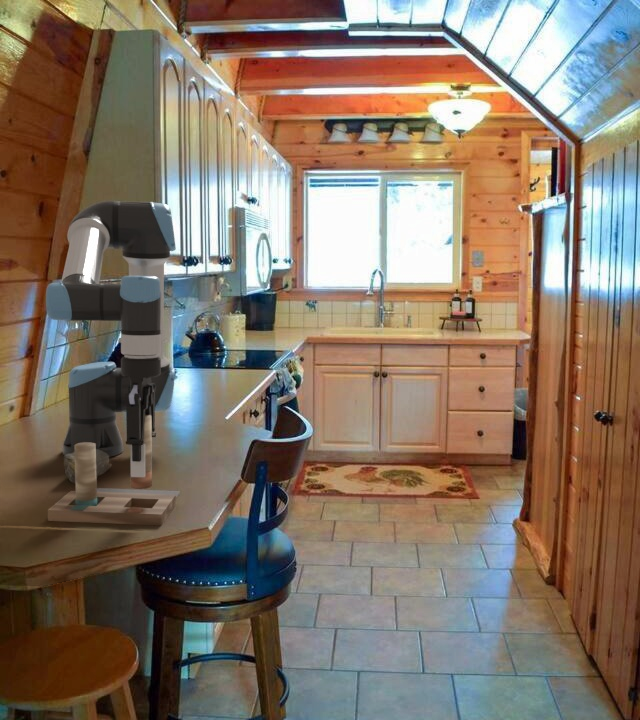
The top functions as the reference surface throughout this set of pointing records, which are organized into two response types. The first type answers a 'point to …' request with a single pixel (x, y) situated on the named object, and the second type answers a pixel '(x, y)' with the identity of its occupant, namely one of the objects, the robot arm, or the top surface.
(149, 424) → the peg
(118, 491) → the mat
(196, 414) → the top surface
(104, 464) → the rock
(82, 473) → the peg
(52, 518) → the socket board
